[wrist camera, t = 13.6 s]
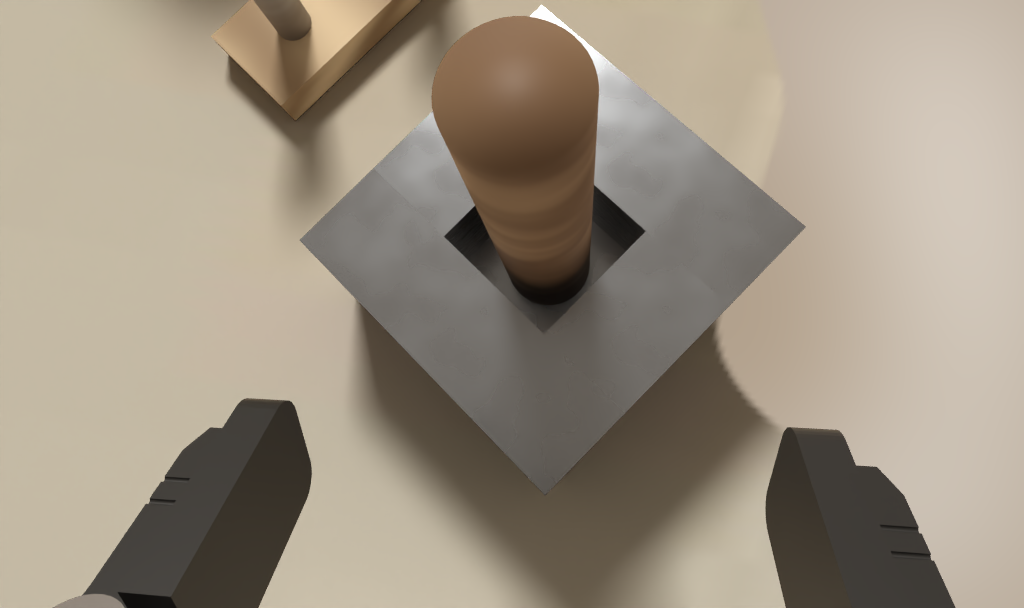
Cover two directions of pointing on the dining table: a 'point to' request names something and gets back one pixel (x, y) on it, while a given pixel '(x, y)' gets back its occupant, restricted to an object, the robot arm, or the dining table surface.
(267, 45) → the peg rack
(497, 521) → the dining table surface
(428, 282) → the block
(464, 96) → the walnut pin
